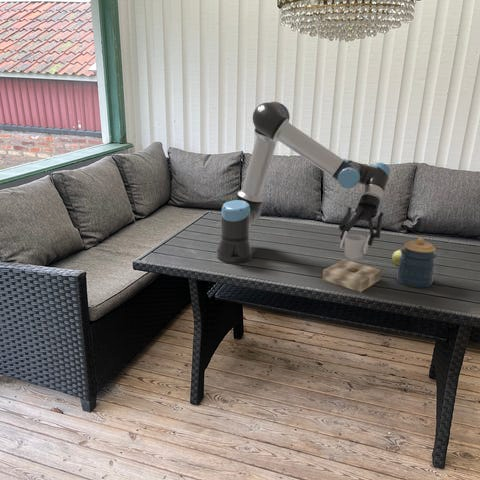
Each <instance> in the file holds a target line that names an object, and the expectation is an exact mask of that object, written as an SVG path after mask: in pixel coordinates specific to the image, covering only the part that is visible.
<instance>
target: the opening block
mask: <svg viewBox="0 0 480 480" xmlns="http://www.w3.org/2000/svg"><path fill="white" fill-rule="evenodd" d="M381 278H382V269H380V268H376V267H375V268H374V267H372V266H369V265H364V264H361V263H358V262H354V261H351V260H348V259H345V258H344V259H343V260H340V261H338V262H336V263H335V264H333V265H331V266H328V267H326V268H324V269H322V280H323V281H326V282H328V283H332V284H334V285H338V286H341V287H344V288H347V289H350V290H353V291H356V292H359V293H362V292H363V291H365V290H367V289H369V288H370V287H371V286H372V285H375V284H376V283H377V282H379V281H381Z"/></svg>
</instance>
